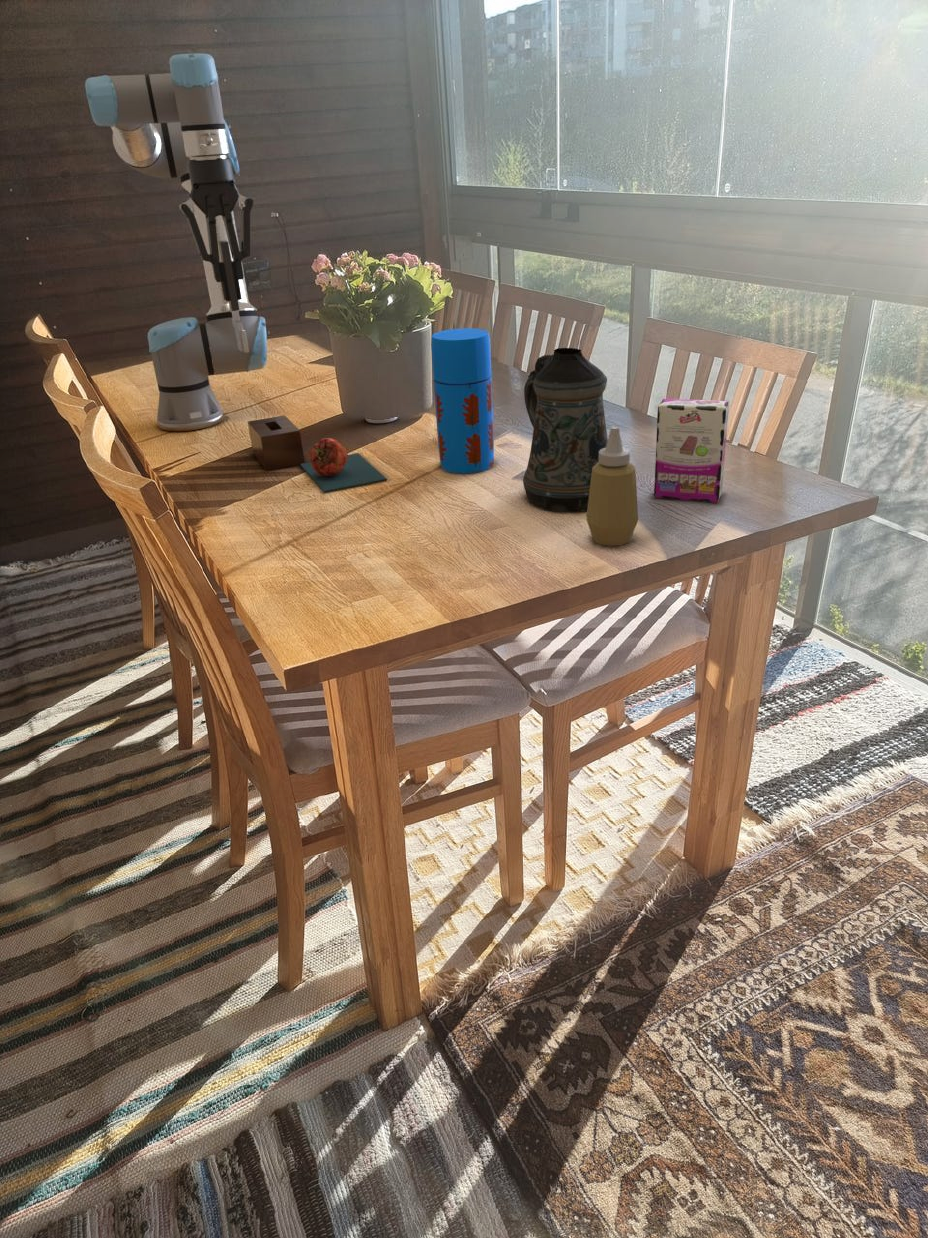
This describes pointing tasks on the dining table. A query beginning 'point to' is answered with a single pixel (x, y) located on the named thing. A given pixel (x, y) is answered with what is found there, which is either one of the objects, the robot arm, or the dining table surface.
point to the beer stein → (564, 430)
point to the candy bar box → (690, 449)
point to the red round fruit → (328, 457)
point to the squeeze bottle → (613, 494)
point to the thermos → (463, 399)
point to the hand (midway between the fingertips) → (232, 298)
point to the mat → (346, 475)
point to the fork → (233, 297)
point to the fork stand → (276, 442)
